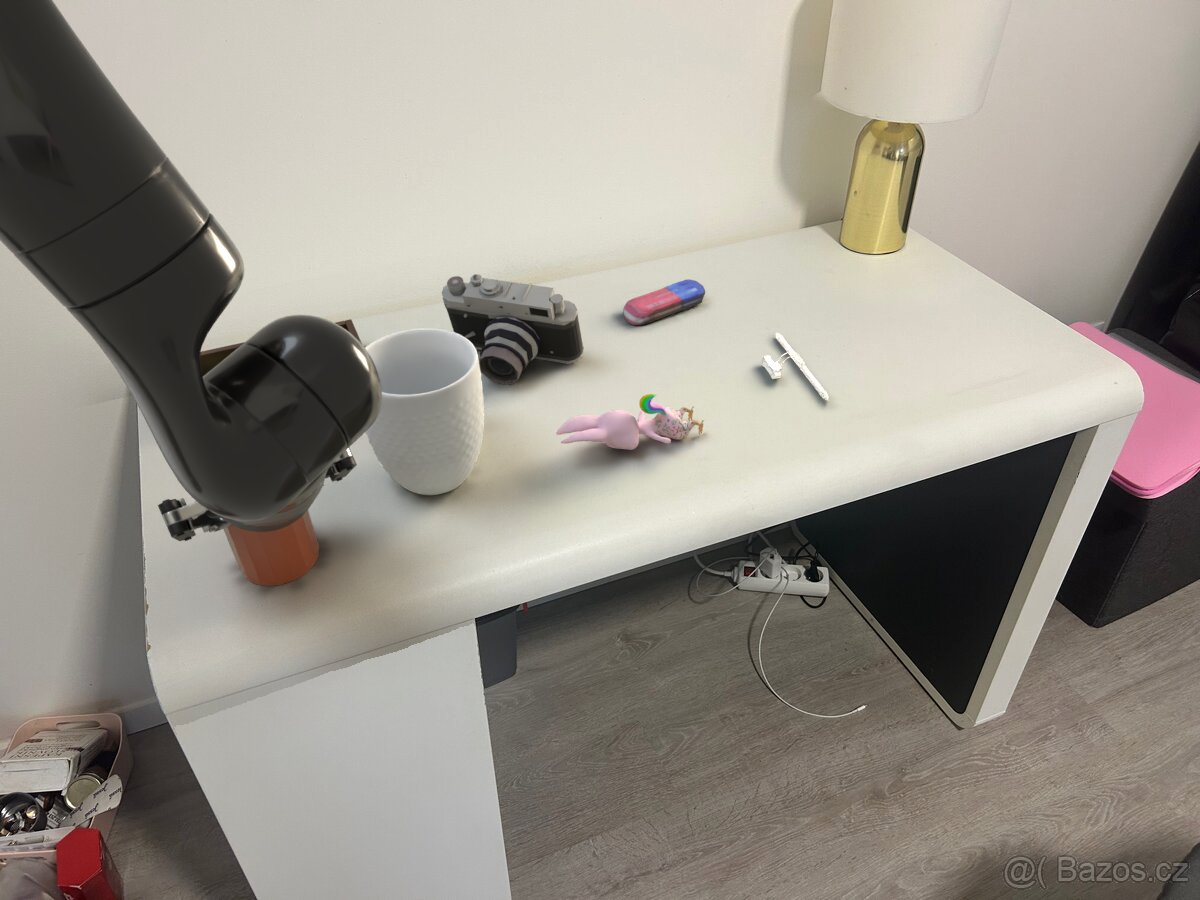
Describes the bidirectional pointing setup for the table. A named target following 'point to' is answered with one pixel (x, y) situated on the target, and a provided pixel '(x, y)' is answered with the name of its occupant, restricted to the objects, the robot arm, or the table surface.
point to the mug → (427, 409)
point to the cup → (275, 552)
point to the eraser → (663, 302)
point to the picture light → (775, 367)
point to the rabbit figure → (630, 426)
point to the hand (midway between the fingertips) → (258, 501)
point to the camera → (513, 324)
